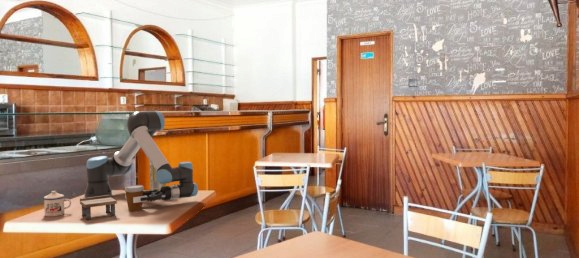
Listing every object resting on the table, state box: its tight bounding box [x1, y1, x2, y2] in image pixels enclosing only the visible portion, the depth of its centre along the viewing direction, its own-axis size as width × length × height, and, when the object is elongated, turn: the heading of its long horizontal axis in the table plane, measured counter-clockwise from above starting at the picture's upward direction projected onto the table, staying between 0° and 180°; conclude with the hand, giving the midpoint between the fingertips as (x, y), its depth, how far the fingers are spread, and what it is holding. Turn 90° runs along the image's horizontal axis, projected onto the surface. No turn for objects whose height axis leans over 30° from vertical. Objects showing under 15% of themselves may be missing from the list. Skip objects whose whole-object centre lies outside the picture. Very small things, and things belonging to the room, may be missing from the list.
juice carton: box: [149, 161, 167, 191], centre depth 262 cm, size 9×8×24 cm
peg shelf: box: [79, 195, 118, 221], centre depth 210 cm, size 12×14×8 cm
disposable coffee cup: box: [124, 184, 145, 212], centre depth 222 cm, size 10×10×12 cm
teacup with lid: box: [43, 190, 72, 217], centre depth 214 cm, size 12×9×12 cm
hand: (129, 197), depth 220 cm, fingers open, 13 cm apart
